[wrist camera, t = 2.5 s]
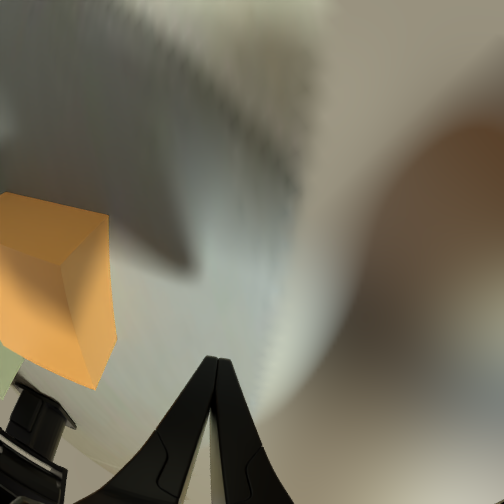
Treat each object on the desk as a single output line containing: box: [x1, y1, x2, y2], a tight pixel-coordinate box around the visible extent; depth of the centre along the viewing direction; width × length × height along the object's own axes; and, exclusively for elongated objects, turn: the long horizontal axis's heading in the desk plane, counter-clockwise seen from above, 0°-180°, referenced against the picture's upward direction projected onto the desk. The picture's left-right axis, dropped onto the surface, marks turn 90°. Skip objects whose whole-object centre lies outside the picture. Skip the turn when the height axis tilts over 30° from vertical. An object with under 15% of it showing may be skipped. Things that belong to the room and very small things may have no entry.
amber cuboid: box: [0, 192, 117, 390], centre depth 9 cm, size 7×6×4 cm
